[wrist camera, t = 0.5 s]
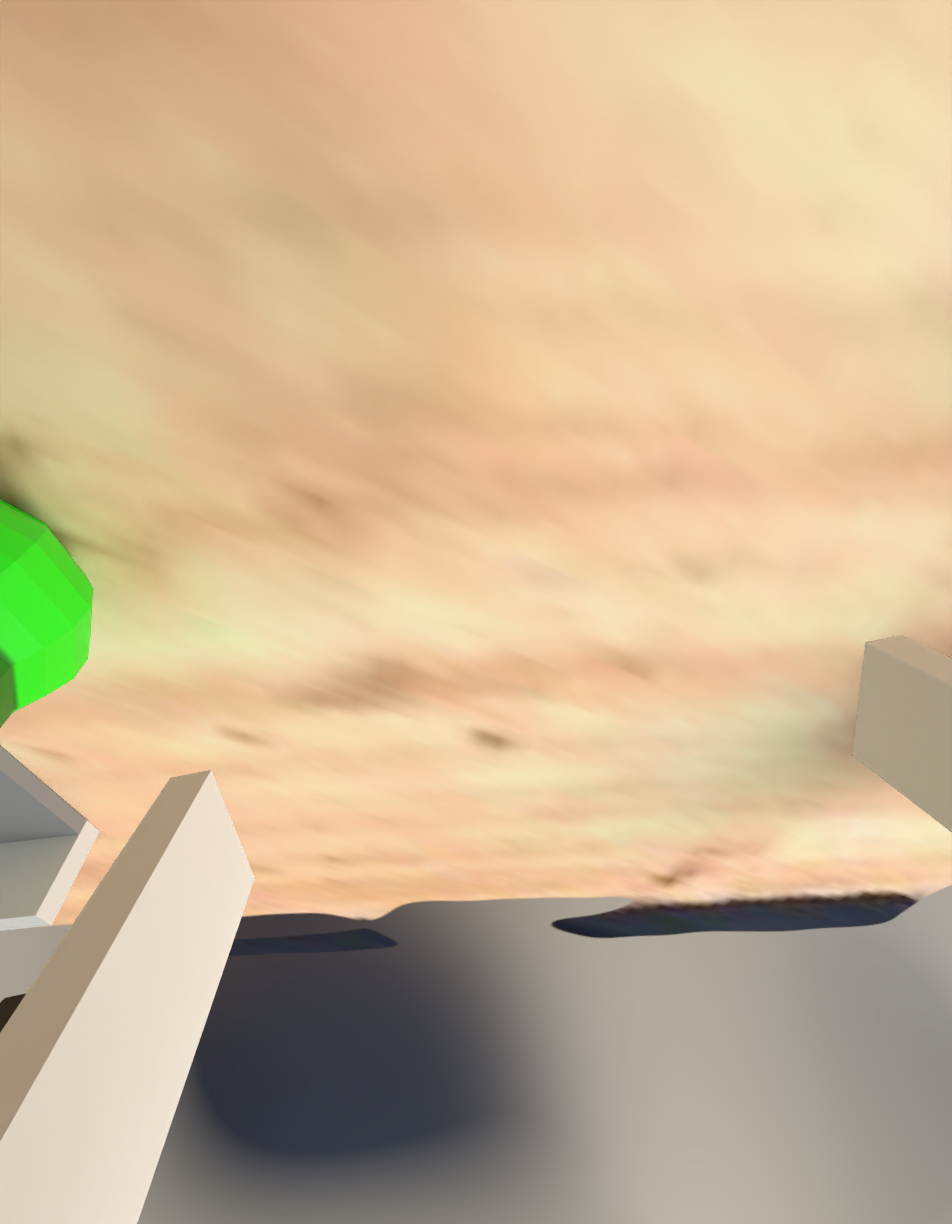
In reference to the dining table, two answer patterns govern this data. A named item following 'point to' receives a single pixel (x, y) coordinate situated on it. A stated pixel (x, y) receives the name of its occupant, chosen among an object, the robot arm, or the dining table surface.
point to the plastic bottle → (38, 612)
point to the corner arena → (36, 847)
